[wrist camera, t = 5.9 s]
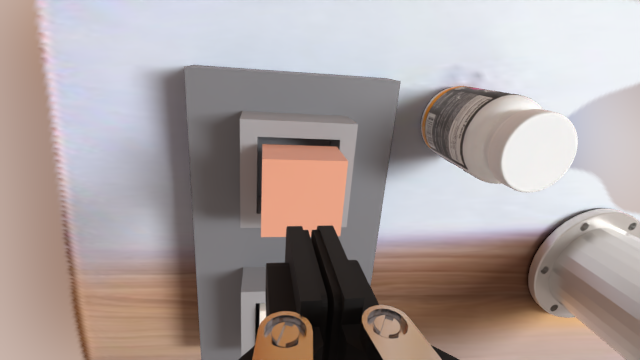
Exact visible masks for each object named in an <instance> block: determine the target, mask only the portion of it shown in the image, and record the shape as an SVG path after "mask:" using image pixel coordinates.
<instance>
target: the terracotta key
mask: <svg viewBox="0 0 640 360" xmlns="http://www.w3.org/2000/svg"><path fill="white" fill-rule="evenodd" d="M347 168H348V160H347V159H346V158H345V156H344V155H343V154H342V153H341V151H340V150H339V149H338V147H336V146H305V145H275V144H262V200H261V237H286V228H287V226H302V227H303V230H308V231H309V235H310V237H311V232H312V230H317V226H329V225H333V227H334V229H335V231H336V233H337V236H340V235H341V225H342V216H343V206H344V197H345V187H346V178H347Z"/></svg>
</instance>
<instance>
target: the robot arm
mask: <svg viewBox="0 0 640 360" xmlns="http://www.w3.org/2000/svg"><path fill="white" fill-rule="evenodd" d="M528 282H529V290H530V293H531V295H532V297H533V299H534V300H535V302H536V303H537V304H538V305H540V306H541V307H542V308H543V309H544V310H545V311H546V312H548V313H549V314H552V315H555V316H558V317H565V318H570V317H576V318H577V319H579V320H580V321H581V322H582V323H583V324H585V325H586V326H587V327H588V328H589V329H590V330H592V331H593V332H594V333H595V334H596V335H597V336H599V337H600V338H601V339H602V340H603V341H605V342H606V343H607V344H608V345H609V346H610V347H612V348H613V349H614V350H615V351H616V352H617V353H619V354H620V355H621V356H622V357H623V358H625V359H626V360H640V222H639V221H638V220H637V219H635V218H634V217H633V216H631V215H629V214H626V213H624V212H622V211H619V210H615V209H596V210H591V211H587V212H585V213H582V214H579V215H577V216H575V217H573V218H571V219H570V220H568V221H566V222H565V223H563V224H562V225H561V226H559V227H558V228H557V229H556V230H554V231H553V232H552V233H551V234H550V235H549V236H548V237H547V238H546V240H545V241H544V242H543V244H542V245H541V246H540V248H539V249H538V251H537V253H536V255H535V256H534V259H533V261H532V264H531V266H530V271H529V277H528ZM265 295H266V318H265V319H264V320H263V321H262V322H261V323H260V326H259V328H258V332H257V337H256V342H255V346H253V347H252V348H251V349H250V350H249V351H248V352H246V353H245V354H244V355H243V356H242V357H241V358H239V359H238V360H459V359H457V358H455V357H453V356H451V355H449V354H447V353H445V352H443V351H441V350H439V349H437V348H435V347H434V346H432V345H430V344H429V342H428V341H427V340H426V338H425V337H424V336H423V335H422V333H421V332H420V331H419V329H418V328H417V327H416V326H415V324H414V323H413V322H412V320H411V319H410V318H409V317H408V316H407V315H406V314H405V313H404V312H402V311H400V310H399V309H397V308H394V307H391V306H386V305H379V304H378V302H377V299H376V297H375V295H374V293H373V291H372V289H371V287H370V285H369V283H368V281H367V279H366V277H365V275H364V273H363V270H362V268H361V266H360V264H359V262H358V261H357V260H348V258H347V256H346V254H345V252H344V249H343V247H342V245H341V242H340V240H339V238H338V236H337V233H336V231H335V229H334V227H333V225H329V226H317V230H312V232H311V238H310V235H309V231H308V230H303V227H302V226H287V228H286V247H285V262H283V263H266V288H265Z"/></svg>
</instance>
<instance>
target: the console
mask: <svg viewBox="0 0 640 360" xmlns="http://www.w3.org/2000/svg"><path fill="white" fill-rule="evenodd" d="M184 75H185V92H186V109H187V126H188V143H189V160H190V177H191V194H192V211H193V228H194V245H195V262H196V279H197V296H198V313H199V330H200V347H201V360H238V359H239V358H241V357H242V356H243V355H244V354H245V353H246V352H248V351H249V350H250V349H251V348H252V347H253V346H255V342H256V337H257V332H258V328H259V322H260V303H266V295H265V288H266V263H283V262H285V247H286V237H261V200H262V144H275V145H305V146H336V147H338V149H339V150H340V151H341V153H342V154H343V155H344V156H345V158H346V159H347V160H348V168H347V178H346V187H345V197H344V206H343V216H342V225H341V235H340V236H338V238H339V240H340V242H341V245H342V247H343V249H344V252H345V254H346V256H347V258H348V260H357V261H358V262H359V264H360V266H361V268H362V270H363V273H364V275H365V277H366V279H367V281H368V283H369V285H371V279H372V272H373V265H374V258H375V252H376V245H377V238H378V231H379V224H380V218H381V211H382V204H383V197H384V190H385V184H386V177H387V170H388V163H389V157H390V150H391V143H392V136H393V129H394V123H395V116H396V109H397V102H398V95H399V89H400V82H401V81H396V80H392V79H387V78H374V77H360V76H345V75H331V74H316V73H302V72H287V71H273V70H258V69H244V68H230V67H215V66H201V65H191V66H185V67H184ZM310 238H311V237H310Z"/></svg>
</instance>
